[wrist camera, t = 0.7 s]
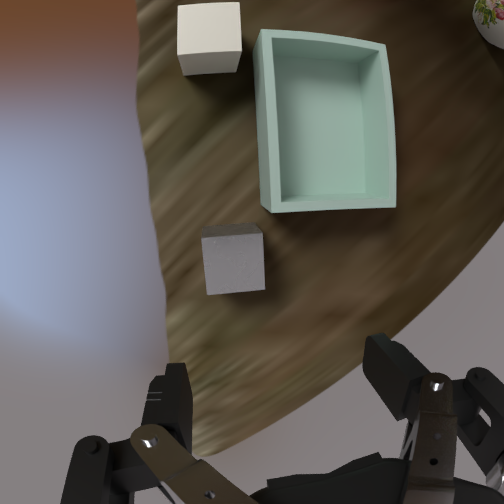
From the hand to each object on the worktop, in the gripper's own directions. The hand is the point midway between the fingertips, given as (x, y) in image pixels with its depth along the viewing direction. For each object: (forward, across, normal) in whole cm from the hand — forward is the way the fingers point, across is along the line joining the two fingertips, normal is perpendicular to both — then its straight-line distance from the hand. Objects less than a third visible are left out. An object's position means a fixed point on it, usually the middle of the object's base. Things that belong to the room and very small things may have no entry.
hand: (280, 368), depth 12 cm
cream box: (+19, +2, -20) cm, 28 cm away
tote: (+19, -8, -12) cm, 24 cm away
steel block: (+19, +1, 0) cm, 19 cm away
